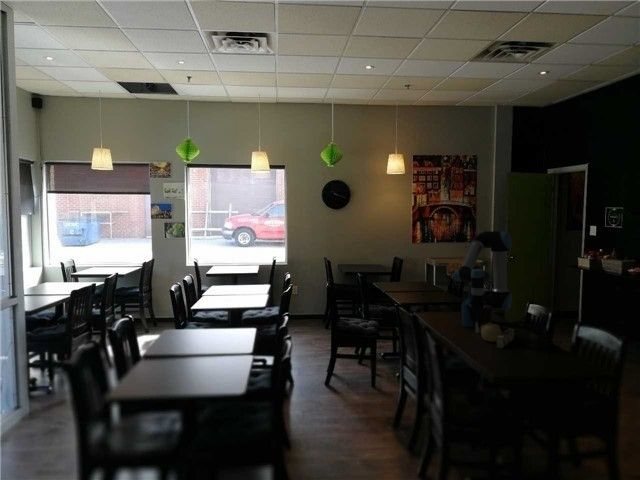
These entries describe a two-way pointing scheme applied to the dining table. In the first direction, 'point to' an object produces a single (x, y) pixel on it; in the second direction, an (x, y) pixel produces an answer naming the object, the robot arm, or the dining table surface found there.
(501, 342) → the board
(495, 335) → the sculpture
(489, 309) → the canister
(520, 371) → the dining table surface
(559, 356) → the dining table surface
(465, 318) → the wine bottle
